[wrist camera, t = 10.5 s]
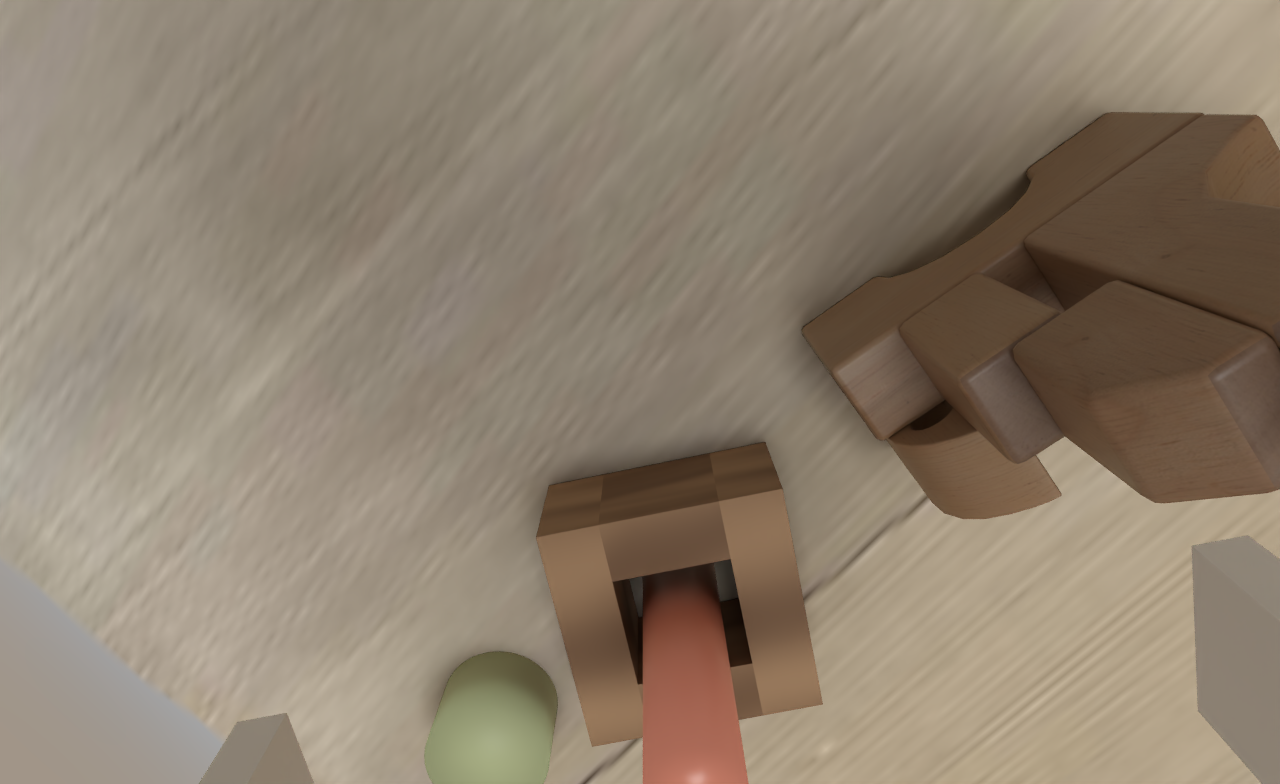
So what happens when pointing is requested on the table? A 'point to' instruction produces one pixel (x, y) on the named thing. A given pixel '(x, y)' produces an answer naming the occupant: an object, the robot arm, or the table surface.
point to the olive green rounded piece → (493, 723)
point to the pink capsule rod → (688, 683)
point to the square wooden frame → (668, 540)
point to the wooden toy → (1088, 325)
